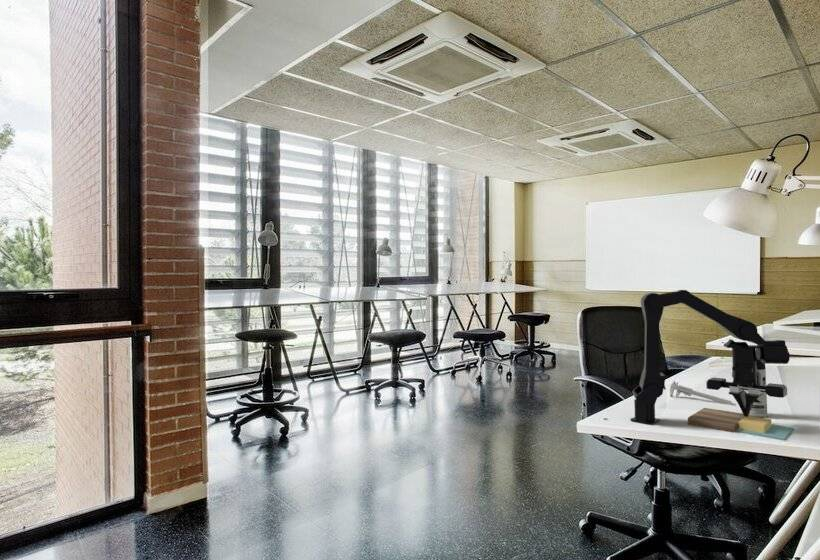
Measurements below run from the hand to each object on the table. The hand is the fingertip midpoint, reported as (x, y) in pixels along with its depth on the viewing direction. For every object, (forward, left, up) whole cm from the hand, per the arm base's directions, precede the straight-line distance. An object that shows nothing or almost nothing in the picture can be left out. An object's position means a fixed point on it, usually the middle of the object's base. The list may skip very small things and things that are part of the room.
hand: (746, 416), depth 139 cm
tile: (0, -2, -3) cm, 3 cm away
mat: (0, -5, -3) cm, 6 cm away
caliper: (+27, +20, -4) cm, 33 cm away
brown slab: (0, +7, -3) cm, 8 cm away
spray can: (+17, +2, -3) cm, 17 cm away
